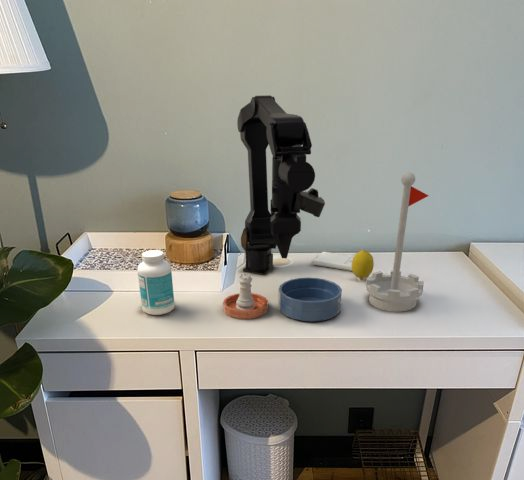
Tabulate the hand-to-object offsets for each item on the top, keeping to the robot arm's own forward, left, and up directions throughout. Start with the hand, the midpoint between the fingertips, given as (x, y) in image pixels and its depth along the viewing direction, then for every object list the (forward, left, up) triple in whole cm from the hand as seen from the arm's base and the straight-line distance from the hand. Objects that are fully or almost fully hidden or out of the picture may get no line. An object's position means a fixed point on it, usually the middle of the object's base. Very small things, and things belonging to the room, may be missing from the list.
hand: (283, 251), depth 125 cm
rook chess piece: (-6, -7, -13) cm, 16 cm away
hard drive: (+3, +31, -13) cm, 33 cm away
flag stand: (+23, +13, -13) cm, 29 cm away
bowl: (+7, 0, -13) cm, 15 cm away
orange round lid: (-6, -7, -13) cm, 16 cm away
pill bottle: (-24, -16, -13) cm, 32 cm away
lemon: (+12, +23, -13) cm, 29 cm away
